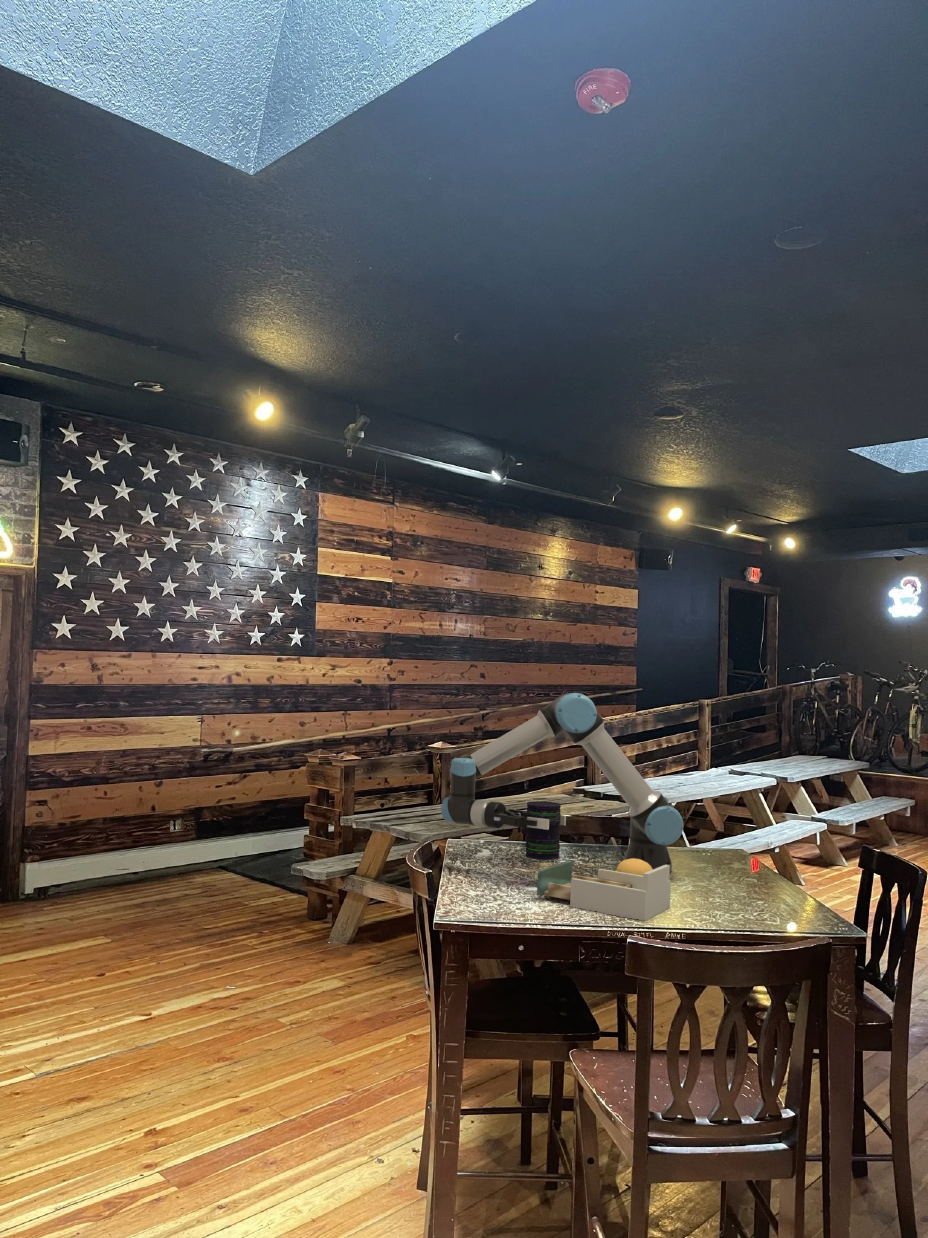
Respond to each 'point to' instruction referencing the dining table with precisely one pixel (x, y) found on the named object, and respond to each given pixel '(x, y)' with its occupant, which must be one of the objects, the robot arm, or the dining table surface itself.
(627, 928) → the dining table surface
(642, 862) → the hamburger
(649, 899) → the dock
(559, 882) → the tray
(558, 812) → the storage jar
